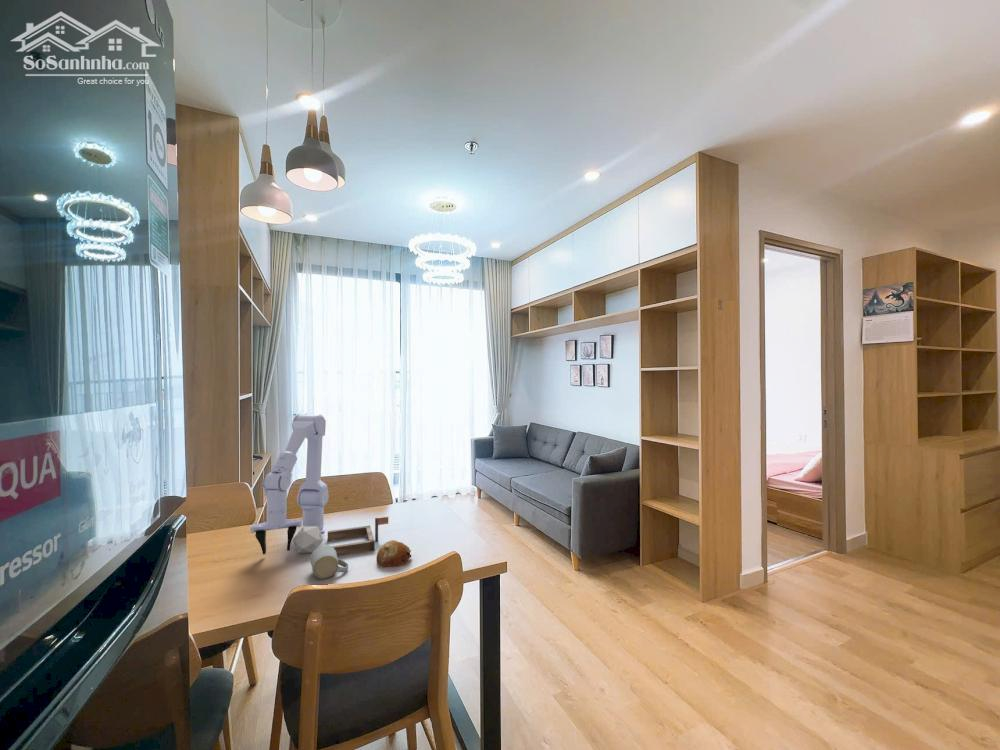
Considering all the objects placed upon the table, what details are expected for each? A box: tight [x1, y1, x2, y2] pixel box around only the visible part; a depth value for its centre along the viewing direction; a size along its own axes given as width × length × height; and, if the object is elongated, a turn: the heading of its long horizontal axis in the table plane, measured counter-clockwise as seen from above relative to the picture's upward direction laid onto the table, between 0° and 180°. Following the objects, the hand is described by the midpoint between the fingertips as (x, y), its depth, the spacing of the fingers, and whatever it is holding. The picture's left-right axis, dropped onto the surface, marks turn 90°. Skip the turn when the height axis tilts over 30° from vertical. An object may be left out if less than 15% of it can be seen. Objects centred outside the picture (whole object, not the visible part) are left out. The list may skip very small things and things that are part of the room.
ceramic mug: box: [309, 544, 349, 580], centre depth 124 cm, size 10×8×7 cm
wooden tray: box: [327, 516, 389, 557], centre depth 145 cm, size 16×20×8 cm
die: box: [292, 526, 325, 554], centre depth 139 cm, size 8×9×10 cm
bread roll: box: [376, 539, 412, 569], centre depth 132 cm, size 10×10×8 cm
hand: (276, 551), depth 135 cm, fingers open, 6 cm apart
